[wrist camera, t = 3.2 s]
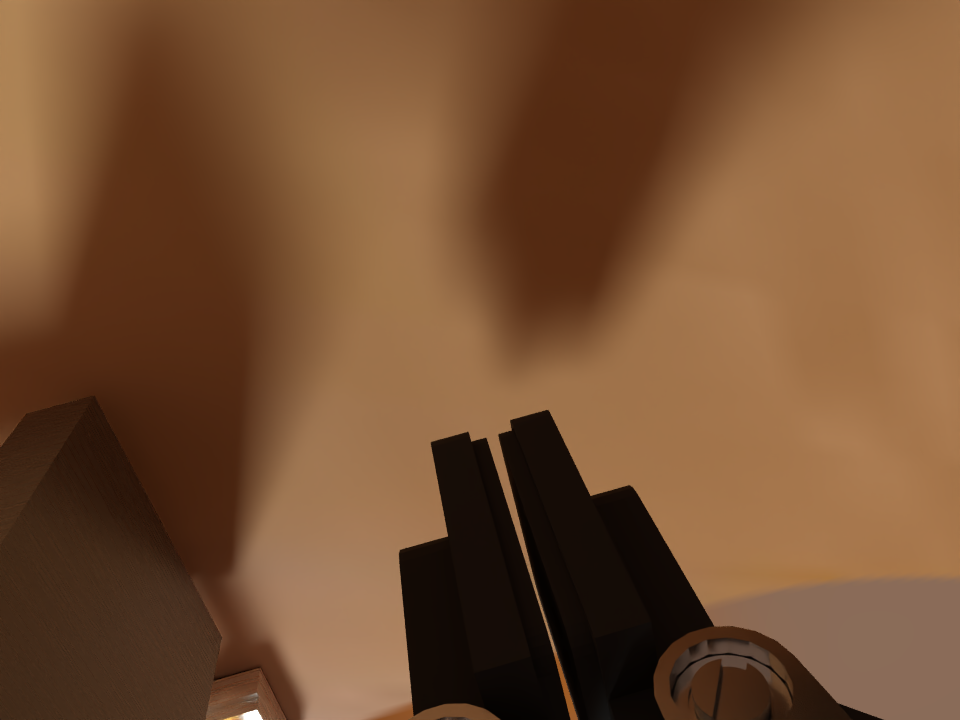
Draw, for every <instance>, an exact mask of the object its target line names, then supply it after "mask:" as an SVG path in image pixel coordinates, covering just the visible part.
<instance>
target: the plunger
mask: <svg viewBox="0 0 960 720" xmlns="http://www.w3.org/2000/svg"><path fill="white" fill-rule="evenodd" d="M221 638H222V637H221V635H220V633H219V631H218V629H217V627H216V625H215V624H214V622H213V620H212V618H211V616H210V614H209V612H208V610H207V608H206V606H205V605H204V603H203V601H202V599H201V597H200V595H199V593H198V591H197V589H196V588H195V586H194V584H193V582H192V580H191V578H190V576H189V574H188V572H187V570H186V569H185V567H184V565H183V563H182V561H181V559H180V557H179V555H178V553H177V551H176V550H175V548H174V546H173V544H172V542H171V540H170V538H169V536H168V534H167V533H166V531H165V529H164V527H163V525H162V523H161V521H160V519H159V517H158V515H157V514H156V512H155V510H154V508H153V506H152V504H151V502H150V500H149V498H148V496H147V495H146V493H145V491H144V489H143V487H142V485H141V483H140V481H139V479H138V478H137V476H136V474H135V472H134V470H133V468H132V466H131V464H130V462H129V460H128V459H127V457H126V455H125V453H124V451H123V449H122V447H121V445H120V443H119V441H118V440H117V438H116V436H115V434H114V432H113V430H112V428H111V426H110V424H109V423H108V421H107V419H106V417H105V415H104V413H103V411H102V409H101V407H100V405H99V404H98V402H97V400H96V398H95V396H92V397H88V398H84V399H80V400H77V401H73V402H69V403H65V404H62V405H58V406H54V407H50V408H47V409H43V410H39V411H36V412H32V413H28V414H26V415H25V416H24V418H23V419H22V420H21V421H20V423H19V424H18V425H17V427H16V428H15V429H14V431H13V432H12V433H11V435H10V436H9V437H8V439H7V440H6V441H5V442H4V444H3V445H2V446H1V448H0V720H206V714H207V709H208V704H209V699H210V694H211V689H212V684H213V679H214V674H215V669H216V664H217V659H218V654H219V649H220V643H221Z"/></svg>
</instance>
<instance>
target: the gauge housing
mask: <svg viewBox="0 0 960 720" xmlns="http://www.w3.org/2000/svg"><path fill="white" fill-rule="evenodd" d="M206 720H287V719H286V717H285V716H284V714H283V712H282V710H281V708H280V706H279V704H278V702H277V700H276V698H275V696H274V694H273V692H272V690H271V688H270V686H269V684H268V682H267V680H266V678H265V676H264V674H263V672H262V670H261V668H257V669H253V670H250V671H246V672H243V673H239V674H236V675H232V676H229V677H225V678H222V679H218V680H215V681H213V684H212V689H211V694H210V699H209V704H208V709H207V714H206Z"/></svg>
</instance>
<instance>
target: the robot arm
mask: <svg viewBox="0 0 960 720" xmlns="http://www.w3.org/2000/svg"><path fill="white" fill-rule="evenodd" d="M510 423H511V428H512V431H508V432H505V433H501V434H498V436H499V441H500V445H501V449H502V453H503V457H504V461H505V465H506V469H507V473H508V477H509V481H510V485H511V489H512V493H513V497H514V501H515V505H516V509H517V513H518V517H519V521H520V525H521V529H522V533H523V537H524V541H525V545H526V549H527V553H528V556H529V560H530V564H531V568H532V572H533V576H534V580H535V584H536V588H537V591H538V595H539V598H540V601H541V605H542V608H543V611H544V614H545V617H546V620H547V623H548V626H549V630H550V633H551V636H552V639H553V642H554V645H555V648H556V652H557V655H558V658H559V661H560V664H561V667H562V670H563V673H564V677H565V679H566V683H567V686H568V689H569V692H570V695H571V698H572V702H573V705H574V708H575V711H576V714H577V717H578V720H883V719H880V718H877V717H874V716H872V715H869V714H866V713H863V712H861V711H858V710H855V709H852V708H849V707H847V706H844V705H841V704H838V703H837V702H836V701H835V700H834V699H833V698H832V697H831V696H830V694H829V693H828V692H827V691H826V690H825V689H824V688H823V687H822V686H821V685H820V683H819V682H818V681H817V680H816V679H815V678H814V677H813V676H812V675H811V673H810V672H809V671H808V670H807V669H806V668H805V667H804V666H803V665H802V664H801V662H800V661H799V660H798V659H797V658H796V657H795V656H794V655H793V654H792V653H791V652H789V651H788V650H787V649H786V648H784V647H783V646H782V645H781V644H780V643H778V642H777V641H775V640H774V639H771V638H769V637H767V636H765V635H763V634H761V633H758V632H756V631H753V630H749V629H744V628H739V627H734V626H722V627H714V625H713V623H712V621H711V620H710V618H709V616H708V615H707V613H706V611H705V609H704V608H703V606H702V604H701V602H700V601H699V599H698V597H697V596H696V594H695V592H694V590H693V589H692V587H691V585H690V584H689V582H688V580H687V578H686V577H685V575H684V573H683V571H682V570H681V568H680V566H679V565H678V563H677V561H676V559H675V558H674V556H673V554H672V553H671V551H670V549H669V547H668V546H667V544H666V542H665V541H664V539H663V537H662V535H661V534H660V532H659V530H658V528H657V527H656V525H655V523H654V522H653V520H652V518H651V516H650V515H649V513H648V511H647V510H646V508H645V506H644V504H643V503H642V501H641V499H640V497H639V496H638V494H637V493H636V491H635V490H634V488H633V487H631V486H630V485H628V486H625V487H621V488H618V489H614V490H611V491H607V492H604V493H600V494H596V495H593V496H590V494H589V492H588V490H587V488H586V486H585V484H584V482H583V480H582V478H581V476H580V473H579V471H578V469H577V467H576V465H575V463H574V461H573V459H572V457H571V455H570V453H569V451H568V449H567V447H566V445H565V443H564V440H563V438H562V436H561V434H560V432H559V430H558V428H557V426H556V424H555V422H554V420H553V418H552V416H551V414H550V412H549V410H545V411H542V412H538V413H534V414H531V415H527V416H524V417H520V418H516V419H513V420H510ZM431 447H432V452H433V458H434V463H435V468H436V474H437V479H438V484H439V490H440V495H441V500H442V506H443V511H444V516H445V522H446V527H447V532H448V537H444V538H441V539H437V540H434V541H430V542H427V543H423V544H419V545H416V546H412V547H409V548H405V549H402V550H400V552H399V564H400V574H401V585H402V596H403V607H404V617H405V628H406V639H407V650H408V660H409V671H410V682H411V693H412V703H413V714H414V717H412V718H410V719H409V720H570V716H569V712H568V708H567V704H566V700H565V696H564V692H563V688H562V684H561V680H560V676H559V672H558V669H557V664H556V661H555V657H554V653H553V650H552V646H551V643H550V639H549V636H548V632H547V629H546V626H545V623H544V620H543V616H542V613H541V610H540V607H539V604H538V600H537V597H536V594H535V591H534V588H533V585H532V581H531V578H530V575H529V572H528V569H527V565H526V562H525V559H524V556H523V553H522V550H521V546H520V543H519V540H518V537H517V534H516V530H515V527H514V524H513V521H512V518H511V515H510V511H509V508H508V505H507V502H506V499H505V496H504V492H503V489H502V486H501V483H500V480H499V476H498V473H497V470H496V467H495V464H494V461H493V457H492V454H491V451H490V448H489V445H488V441H487V438H483V439H480V440H476V441H472V442H471V439H470V435H469V432H466V433H462V434H459V435H455V436H451V437H448V438H444V439H440V440H437V441H433V442H431Z"/></svg>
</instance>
